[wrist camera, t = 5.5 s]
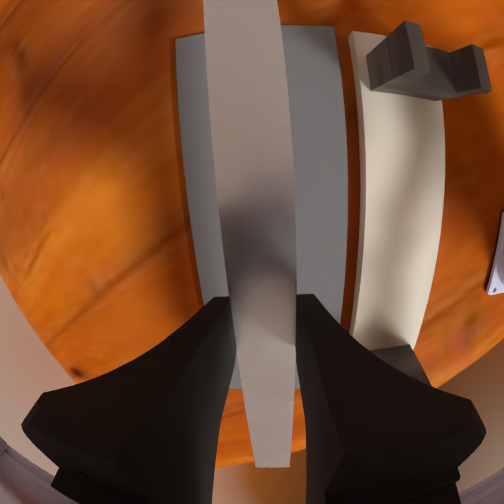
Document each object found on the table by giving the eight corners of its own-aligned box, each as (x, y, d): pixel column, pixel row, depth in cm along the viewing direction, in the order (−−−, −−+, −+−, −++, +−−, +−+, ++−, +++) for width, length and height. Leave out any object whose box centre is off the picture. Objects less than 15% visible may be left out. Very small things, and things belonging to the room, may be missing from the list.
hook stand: (425, 51, 12) (481, 24, 6) (399, 368, 22) (422, 423, 15) (347, 37, 13) (383, -12, 6) (341, 376, 22) (354, 438, 16)
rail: (271, -9, 7) (270, -39, 5) (289, 441, 16) (289, 467, 14) (215, -4, 7) (202, -31, 5) (258, 441, 16) (255, 467, 14)
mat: (332, 29, 13) (333, 26, 12) (330, 381, 23) (331, 385, 22) (178, 42, 14) (175, 39, 13) (222, 383, 24) (221, 388, 23)
